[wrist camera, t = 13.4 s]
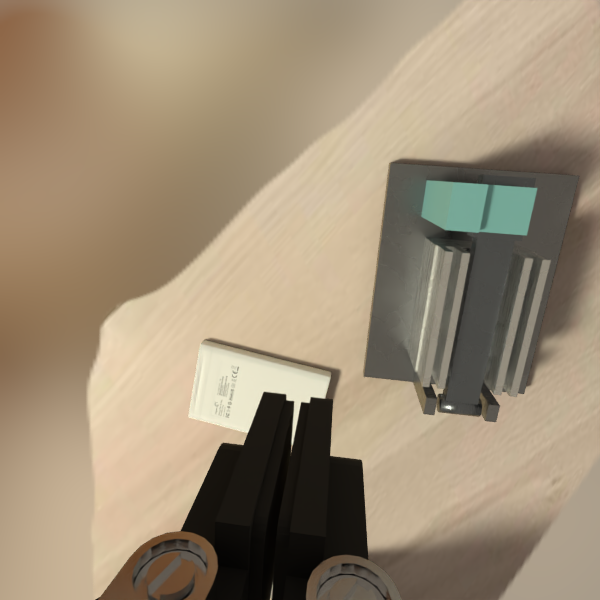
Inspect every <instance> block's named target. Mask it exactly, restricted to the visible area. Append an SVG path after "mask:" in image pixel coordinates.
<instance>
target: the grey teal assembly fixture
mask: <svg viewBox="0 0 600 600" xmlns="http://www.w3.org/2000/svg"><path fill="white" fill-rule="evenodd" d="M479 174H481V175H497V176H511V177H525V178H536V182H535V186H534V188H537V193H536V197H535V201H534V206H533V210H532V214H531V219H530V223H529V228H528V232H527V236H526V235H523V238H522V241H515V243H514V247H513V251H512V256H511V260H510V265H509V269H508V274H507V278H506V282H505V287H504V291H503V296H502V300H501V305H500V309H499V314H498V318H497V322H496V327H495V331H494V336H493V340H492V345H491V349H490V353H489V358H488V362H487V367H486V371H485V376H484V380H483V385H482V389H481V393H480V399H481V402H482V413H481V415H482V416H483V418H484V420H485V421H490V422H496V420H497V416H498V412H499V408H500V405H499V404H498V402H497V401H496V399H495V398H494V396H493V395H492V393H491V392H490V390H491V391H492V392H493V394H495V395H501V394H502V392H507V393H508V394H509V396H513V397H517V394H518V393H520V394H524V392H525V388H526V384H527V380H528V376H529V372H530V368H531V364H532V360H533V356H534V353H535V349H536V345H537V341H538V337H539V333H540V329H541V325H542V321H543V317H544V313H545V309H546V305H547V301H548V297H549V293H550V289H551V286H552V282H553V278H554V274H555V270H556V266H557V262H558V258H559V254H560V250H561V246H562V242H563V238H564V234H565V230H566V226H567V222H568V218H569V215H570V211H571V207H572V203H573V199H574V195H575V191H576V187H577V183H578V179H579V176H576V175H561V174H546V173H532V172H517V171H503V170H488V169H474V168H459V167H444V166H430V165H415V164H401V163H389V169H388V177H387V186H386V194H385V202H384V210H383V218H382V226H381V234H380V242H379V250H378V258H377V266H376V274H375V282H374V290H373V298H372V306H371V314H370V322H369V330H368V338H367V346H366V354H365V362H364V370H363V373H364V377H373V378H382V379H391V380H400V381H409V382H413V383H414V386H415V389H416V392H417V395H418V399H419V402H420V405H421V408H422V411H423V414H429V415H434V413H435V408H436V403H437V397H436V395H435V392H434V390H433V388H432V385H431V384H436V386H437V388H440V389H445V384H446V379H447V373H448V368H449V363H450V358H451V352H452V347H453V342H454V337H455V331H456V326H457V321H458V315H459V310H460V305H461V300H462V294H463V289H464V284H465V279H466V273H467V268H468V263H469V258H470V251H471V246H472V241H473V237H471V236H469V235H467V233H468V232H463V231H451V230H444V229H443V228H441V227H439V226H437V225H435V224H433V223H432V222H430V221H428V220H426V219H424V218H423V217H421V215H422V208H423V202H424V195H425V188H426V182H427V180H430V181H444V182H459V183H473V184H477V180H478V175H479Z"/></svg>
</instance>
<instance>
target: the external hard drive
mask: <svg viewBox="0 0 600 600" xmlns="http://www.w3.org/2000/svg"><path fill="white" fill-rule="evenodd" d="M330 379H331V372H330V371H326V370H322V369H318V368H314V367H310V366H306V365H302V364H298V363H294V362H290V361H286V360H282V359H278V358H274V357H270V356H266V355H262V354H258V353H254V352H250V351H247V350H243V349H238V348H235V347H231V346H227V345H223V344H218V343H215V342H211V341H207V340H204V341H203V342H202V343H201V344H200V348H199V354H198V360H197V367H196V373H195V379H194V384H193V391H192V396H191V403H190V409H189V418H193V419H197V420H201V421H205V422H208V423H212V424H216V425H219V426H223V427H227V428H231V429H234V430H238V431H242V432H246V433H248V432H249V429H250V427H251V424H252V421H253V419H254V416H255V413H256V411H257V408H258V405H259V403H260V400H261V397H262V395H263V392H272V393H280V394H286V397H287V399H286V400H289V401H294V416H293V430H292V444H291V445H293V442H294V436H295V431H296V426H297V421H298V416H299V410H300V405H301V402H306V403H310V398H311V397H316V398H324V399H325V397H326V394H327V390H328V386H329V382H330Z"/></svg>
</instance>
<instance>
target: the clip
mask: <svg viewBox="0 0 600 600" xmlns="http://www.w3.org/2000/svg"><path fill="white" fill-rule="evenodd" d="M536 193H537V188H529V187H515V186H501V185H487V184H473V183H459V182H444V181H430V180H427V182H426V188H425V195H424V202H423V208H422V215H421V217H423V218H424V219H426V220H428V221H430V222H432V223H433V224H435V225H437V226H439V227H441V228H443V229H444V230H451V231H463V232H476V233H479V232H489V233H501V234H514V235H526V236H527V232H528V228H529V223H530V219H531V214H532V210H533V206H534V201H535V197H536Z"/></svg>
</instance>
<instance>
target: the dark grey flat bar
mask: <svg viewBox="0 0 600 600" xmlns="http://www.w3.org/2000/svg"><path fill="white" fill-rule="evenodd" d="M535 182H536V178H525V177H511V176H497V175H481V174H479V175H478V180H477V184H487V185H501V186H515V187H529V188H534V186H535ZM467 235H469V236H471V237H473V241H472V246H471V251H470V258H469V263H468V268H467V273H466V279H465V284H464V289H463V294H462V300H461V305H460V310H459V315H458V321H457V326H456V331H455V337H454V342H453V347H452V352H451V358H450V363H449V368H448V373H447V379H446V384H445V389H444V390H443V394H438V397H437V411H438V412H442V413H450V414H459V415H468V416H477V417H479V416H480V415H481V413H482V402H481V399H480V393H481V389H482V385H483V380H484V376H485V371H486V367H487V362H488V358H489V353H490V349H491V345H492V340H493V336H494V331H495V327H496V322H497V318H498V314H499V309H500V305H501V300H502V296H503V291H504V287H505V282H506V278H507V274H508V269H509V265H510V260H511V256H512V251H513V247H514V243H515V241H522V238H523V235H514V234H501V233H489V232H479V233H476V232H468V233H467Z"/></svg>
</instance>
